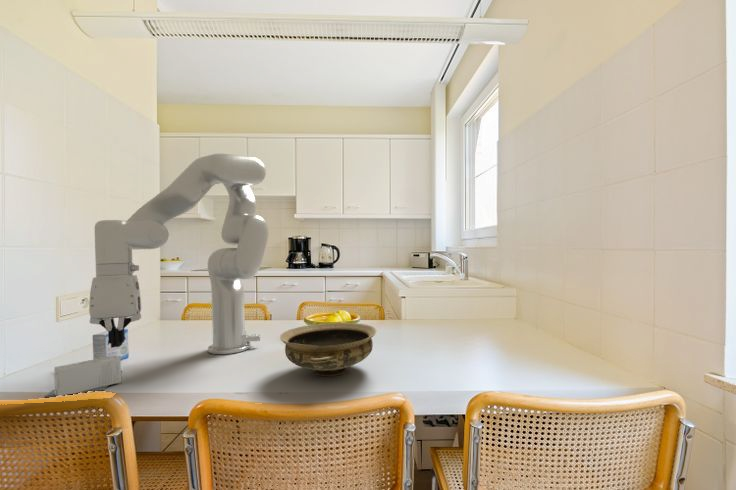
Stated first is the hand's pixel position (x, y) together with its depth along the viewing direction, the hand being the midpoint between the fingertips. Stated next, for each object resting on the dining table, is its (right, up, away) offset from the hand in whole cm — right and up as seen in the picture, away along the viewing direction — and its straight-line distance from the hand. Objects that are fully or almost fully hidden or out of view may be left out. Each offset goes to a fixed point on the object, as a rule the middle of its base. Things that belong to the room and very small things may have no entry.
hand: (116, 345), depth 94 cm
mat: (-6, -9, -2) cm, 11 cm away
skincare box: (+1, -5, -1) cm, 6 cm away
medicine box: (-13, -9, +17) cm, 23 cm away
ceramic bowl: (+52, -7, +3) cm, 52 cm away
